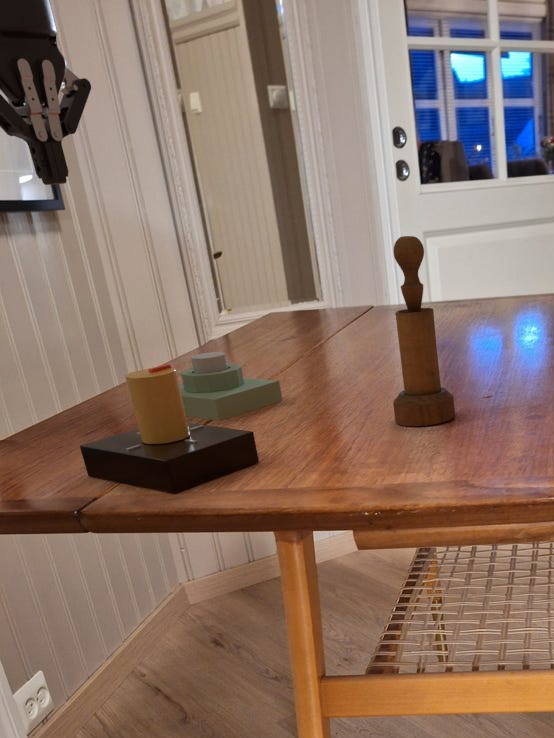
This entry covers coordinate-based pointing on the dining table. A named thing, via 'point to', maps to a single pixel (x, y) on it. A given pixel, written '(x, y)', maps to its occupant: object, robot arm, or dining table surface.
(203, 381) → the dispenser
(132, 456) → the panel
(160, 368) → the lock knob
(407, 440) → the dining table surface
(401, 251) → the mortar and pestle
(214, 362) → the grey push button
